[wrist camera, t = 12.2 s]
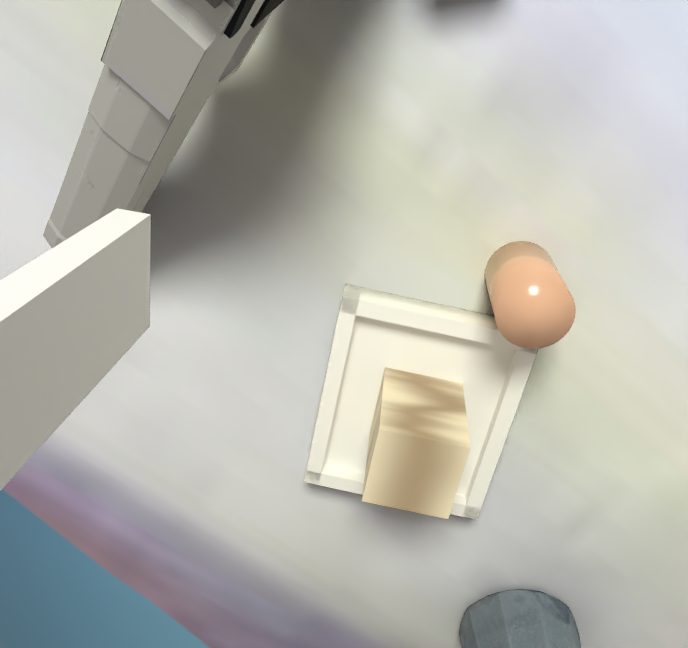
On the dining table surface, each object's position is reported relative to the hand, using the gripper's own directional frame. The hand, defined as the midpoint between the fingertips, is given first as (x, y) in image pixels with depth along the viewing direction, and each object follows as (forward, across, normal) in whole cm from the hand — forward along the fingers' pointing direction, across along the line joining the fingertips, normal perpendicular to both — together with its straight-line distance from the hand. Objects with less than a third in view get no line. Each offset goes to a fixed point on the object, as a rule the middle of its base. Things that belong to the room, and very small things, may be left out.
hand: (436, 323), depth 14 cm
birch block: (+23, +2, -17) cm, 29 cm away
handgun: (+25, -12, +2) cm, 28 cm away
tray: (+24, +2, -17) cm, 30 cm away
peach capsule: (+25, +6, -7) cm, 27 cm away
